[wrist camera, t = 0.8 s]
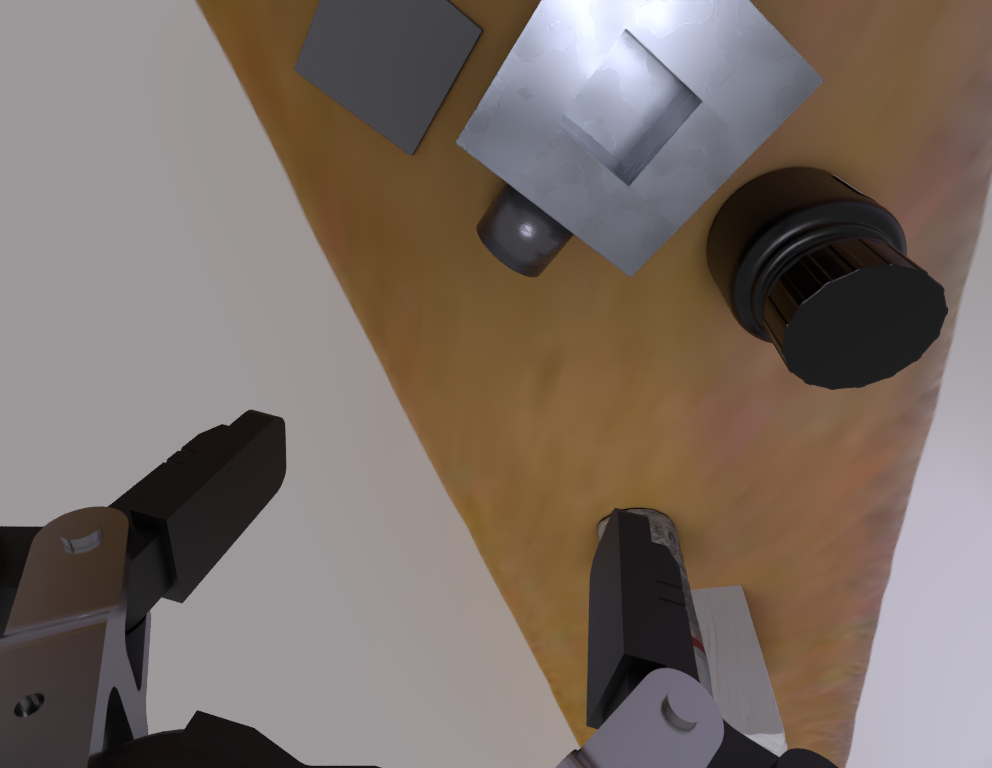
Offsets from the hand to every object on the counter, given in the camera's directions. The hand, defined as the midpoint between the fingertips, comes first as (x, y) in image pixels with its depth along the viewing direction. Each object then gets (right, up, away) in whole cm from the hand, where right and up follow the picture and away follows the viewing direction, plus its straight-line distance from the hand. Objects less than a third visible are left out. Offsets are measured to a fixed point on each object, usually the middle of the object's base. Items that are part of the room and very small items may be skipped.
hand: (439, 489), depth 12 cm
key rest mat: (-5, +22, +17) cm, 28 cm away
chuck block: (+7, +18, +18) cm, 27 cm away
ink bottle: (+20, +12, +21) cm, 32 cm away
